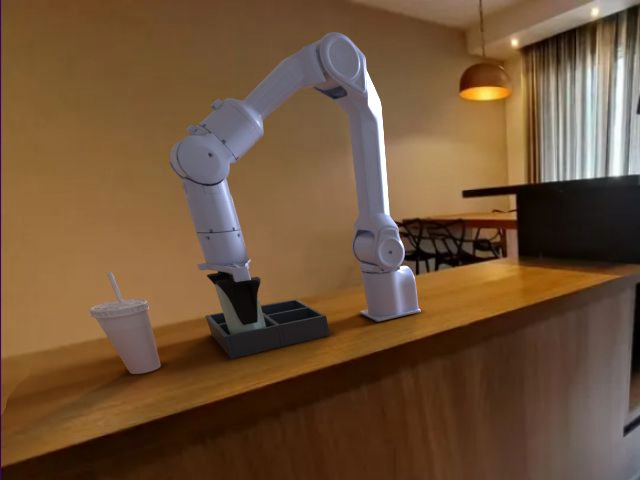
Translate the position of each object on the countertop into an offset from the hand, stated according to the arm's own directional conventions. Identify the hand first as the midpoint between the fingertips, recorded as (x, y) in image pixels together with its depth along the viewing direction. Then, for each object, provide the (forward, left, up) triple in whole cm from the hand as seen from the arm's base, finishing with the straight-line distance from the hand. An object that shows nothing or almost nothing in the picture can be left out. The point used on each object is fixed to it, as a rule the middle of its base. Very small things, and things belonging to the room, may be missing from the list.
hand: (245, 319), depth 71 cm
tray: (-4, -4, -5) cm, 7 cm away
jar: (0, 0, -2) cm, 2 cm away
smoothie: (+14, -1, -5) cm, 15 cm away
